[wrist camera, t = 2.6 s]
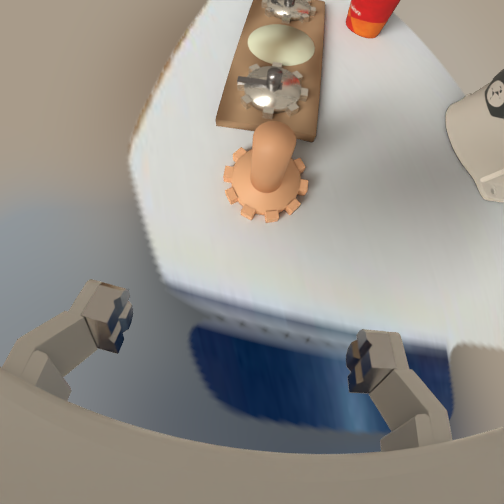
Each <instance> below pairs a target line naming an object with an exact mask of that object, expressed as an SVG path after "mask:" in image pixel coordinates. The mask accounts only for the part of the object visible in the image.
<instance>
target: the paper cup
mask: <svg viewBox="0 0 504 504" xmlns="http://www.w3.org/2000/svg"><path fill="white" fill-rule="evenodd" d="M399 2H400V0H351V4H350V7H349V11H348V15H347V19H346V25H347V27H348V28H349V29H350V30H351V31H352V32H354V33H355V34H357V35H359V36H362V37H365V38H375V37H376V36H377V35H378V34H379V33H380V31H381V30H382V28H383V27H384V25H385V24H386V22H387V21H388V19H389V17H390V16H391V14H392V13H393V11H394V10H395V8H396V6H397V5H398V3H399Z"/></svg>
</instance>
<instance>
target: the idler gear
mask: <svg viewBox="0 0 504 504" xmlns="http://www.w3.org/2000/svg"><path fill="white" fill-rule="evenodd" d="M295 145H296V136H295V133H294V132H293V130H292V129H291V128H290V127H289V126H288V125H286V124H284V123H282V122H278V121H268V122H265V123H263V124H261V125H259V126H258V127H257V128H256V130H255V132H254V135H253V146H252V150H250V151H248V152H246V151H245V150H244V149H243V148H242V147H241V148H240V149H238V150H237V151H236V152H235V153H234V154H233V160H234V161H235V162H236V163H235V165H234V167H230V166H226V167H225V171H224V176H223V177H224V182H230V183H232V187H231V188H229V189H227V190H225V192H226V196H227V198H228V200H229V202H230V204H231V205H232V204H234V203H236V202H239V203H240V204H241V205H242V206H243V208H242V210H241V215H242V216H244V217H246V218H248V219H250V220H252V218H253V216H254V215H255V214H259V215H265V221H266V223H268V222H276V221H278V219H279V214H278V213H279V212H282V211H283V210H285V211H286V212H287V213H288V214H289V215H291V214H292V213H293V212H294V211H295V210H296V209H297V208H298V207H299V206H300V204H301V203H300V202H299V201H298V200H296V199H295V198H296V196H297V194H298V195H303V196H304V195H305V194H306V192H307V188H308V180H303V179H301V177H300V173H303V171H304V169H305V165H304V164H303V162H302V160H301V158H298V159H295V160H293V159H292V158H291V156H292V154H293V151H294V148H295Z"/></svg>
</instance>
